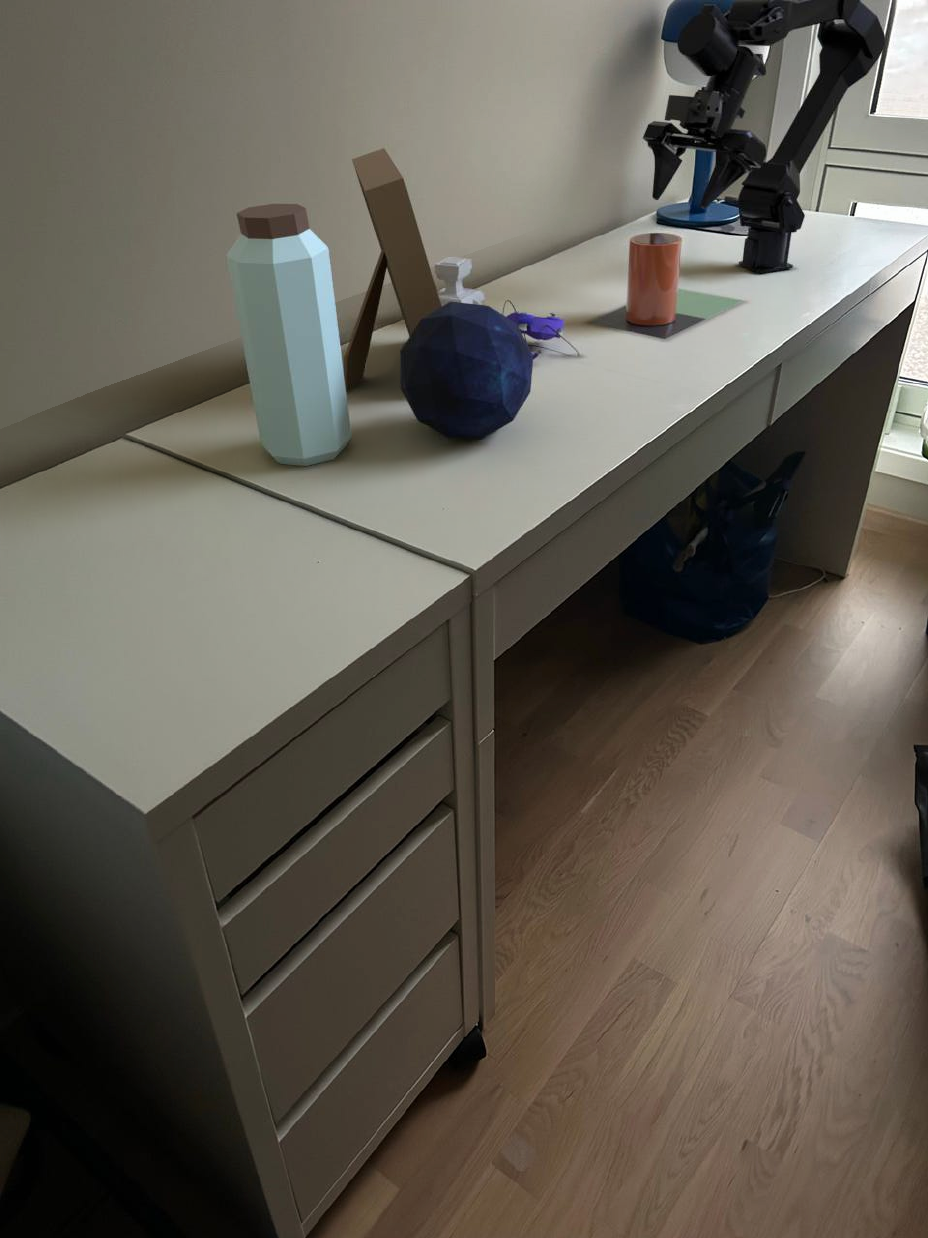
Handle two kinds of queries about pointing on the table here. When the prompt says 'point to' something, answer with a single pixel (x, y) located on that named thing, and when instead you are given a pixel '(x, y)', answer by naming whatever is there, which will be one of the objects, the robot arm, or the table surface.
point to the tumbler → (653, 278)
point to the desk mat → (687, 314)
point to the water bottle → (290, 334)
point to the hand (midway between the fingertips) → (678, 202)
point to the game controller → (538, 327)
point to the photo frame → (390, 258)
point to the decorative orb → (466, 370)
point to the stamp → (456, 282)
